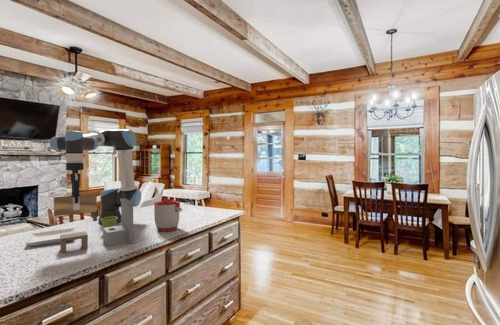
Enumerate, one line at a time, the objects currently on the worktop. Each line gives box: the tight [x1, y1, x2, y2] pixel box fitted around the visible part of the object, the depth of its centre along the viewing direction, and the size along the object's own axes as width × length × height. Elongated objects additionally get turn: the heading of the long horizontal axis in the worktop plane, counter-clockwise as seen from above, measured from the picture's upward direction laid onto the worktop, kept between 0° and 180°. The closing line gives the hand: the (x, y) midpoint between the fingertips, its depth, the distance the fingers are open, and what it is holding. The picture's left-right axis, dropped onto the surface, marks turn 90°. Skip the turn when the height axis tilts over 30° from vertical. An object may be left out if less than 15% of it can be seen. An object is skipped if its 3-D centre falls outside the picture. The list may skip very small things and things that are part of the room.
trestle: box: [60, 230, 89, 254], centre depth 140 cm, size 8×11×7 cm
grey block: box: [102, 198, 135, 247], centre depth 152 cm, size 19×12×22 cm, turn 37°
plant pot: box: [101, 217, 118, 229], centre depth 169 cm, size 9×9×9 cm
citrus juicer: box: [153, 197, 183, 232], centre depth 176 cm, size 16×17×20 cm
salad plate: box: [25, 227, 76, 247], centre depth 155 cm, size 21×21×3 cm
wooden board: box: [53, 192, 98, 222], centre depth 140 cm, size 3×18×14 cm, turn 127°
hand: (76, 209), depth 140 cm, fingers closed on wooden board, 3 cm apart
